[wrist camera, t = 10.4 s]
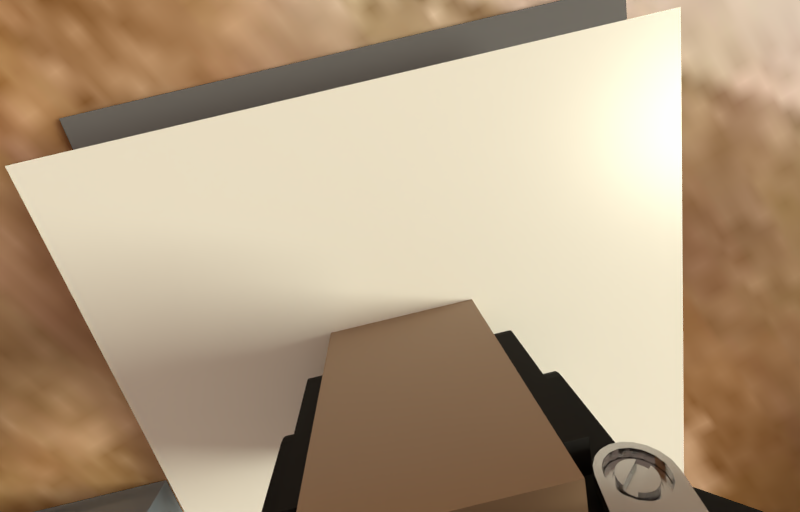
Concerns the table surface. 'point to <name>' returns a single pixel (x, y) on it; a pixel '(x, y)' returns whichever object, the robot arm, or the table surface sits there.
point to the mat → (339, 70)
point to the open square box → (127, 501)
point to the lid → (393, 275)
